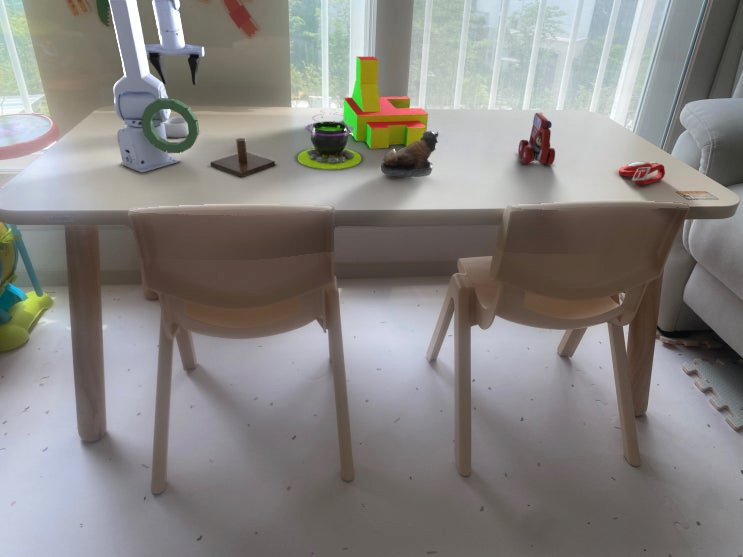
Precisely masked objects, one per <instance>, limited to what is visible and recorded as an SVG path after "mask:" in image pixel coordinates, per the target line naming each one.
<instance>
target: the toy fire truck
mask: <svg viewBox="0 0 743 557" xmlns="http://www.w3.org/2000/svg"><path fill="white" fill-rule="evenodd" d="M552 125H553V123H552V121H550V120H548V118H547V117H546V116H545V115H544V113H543V112H535V113H534V117H533V120H532V127H531V130H530V136H529V139H520V141H519V143H518V149H517V150H518V151H517V152H518V156H519V157H521V159H522V160H521V161H522V164H528V165H529V164H531V162H533V161H537V162H538V163H542V164H545V165H548V166H549V165H550V166H551V165H553V164H554V162H555V159H556V150H555V148H554V147H551V135H552V132H551V128H552Z"/></svg>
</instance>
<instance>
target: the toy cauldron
mask: <svg viewBox="0 0 743 557" xmlns="http://www.w3.org/2000/svg"><path fill="white" fill-rule="evenodd" d="M332 110H335V108H332ZM323 114H324V112H323V111H321V113H320V116H321V115H323ZM330 115H336V116H341V117H342V114H338V113H337V114H336V113H335V112H334V113H330ZM316 116H317V117H318V114H315V115H313V116H312V120H315V119H314V118H315V117H316ZM344 117H345V116H344ZM323 118H324V116H321V119H323ZM345 119H347V118H345ZM344 121H345V120H344ZM344 121H343V120H342V121H335V120H332V121H328V120H327V121H326V120H325V121H322V120H321V121H318V120H317V121H315V122H313V123H310V124H308V125H306V126H305V127H304V130H305V131H306V132H308V133H310V141H311V144H312V146H313V147H312V148H308V149H305V150H302V151H301V152H299V154H297V161H298V162H299V163H300V164H302V165H304V166H305V167H309V168H312V169H317V170H342V169H349V168H353V167H355V166H357V165H359V164H360V162H361V161H362V157H361V155H360V154H359V153H358V152H356V151H354V150H352V149H349V148H347V146H348V143H349V137H353V135H352V134H351V131H352V129H351V128H353V127H351V126H350V125H349V126H348V124H347V125H346V124H345V123H344ZM348 128H349V129H348ZM353 129H354V128H353ZM349 130H350V131H349ZM353 131H354V130H353ZM353 131H352V132H353Z"/></svg>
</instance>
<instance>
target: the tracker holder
mask: <svg viewBox="0 0 743 557" xmlns="http://www.w3.org/2000/svg"><path fill="white" fill-rule="evenodd" d="M617 171H618V175H619V176H625V177H629V176H631V177H632V176H633V177H632V179H631V181H632V182H634V183H635V184H636V185H650V184H653V183H655V182H658V181H661V180H662V179H663V178H664V177H665V175H666V169H665V166H664V165H663V164H661V163H658V162H656V161H635V162H631V163H627V164H626V165H624V166H622V167H620V168H618V170H617ZM656 171H657V173H656V175H655V176H652V177H649V178H647V177H648V175H650V174H653V173H654V172H656Z"/></svg>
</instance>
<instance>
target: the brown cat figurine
mask: <svg viewBox="0 0 743 557" xmlns="http://www.w3.org/2000/svg"><path fill="white" fill-rule="evenodd" d="M438 137H439V131H436V132H434V131H433V130H427V131H426V132H425V131H424V132H423V137H422V138H420V140H421V141H415V142H413V143H411V144H410V145H408V146H407V147H406V146H405V147H403V148H401V149H399V150H398V151H396V150H395V148H392V149H391V150H390V151H388V152H387V153H386V154H385V156H384V158H383V162H382V163H381V164H380V171H381V172H382V173H383V175H387V176H392V177H397V178H398V177H399V178H419V177H427V176H430V175H431V174H432V171H433V167H434V164H433V162H431V160H430V159H429V158H430V156H431V154H432V153H433V152H434V151H436V149H437V147H436V146H437V144H438V143H439V140H438Z"/></svg>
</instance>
